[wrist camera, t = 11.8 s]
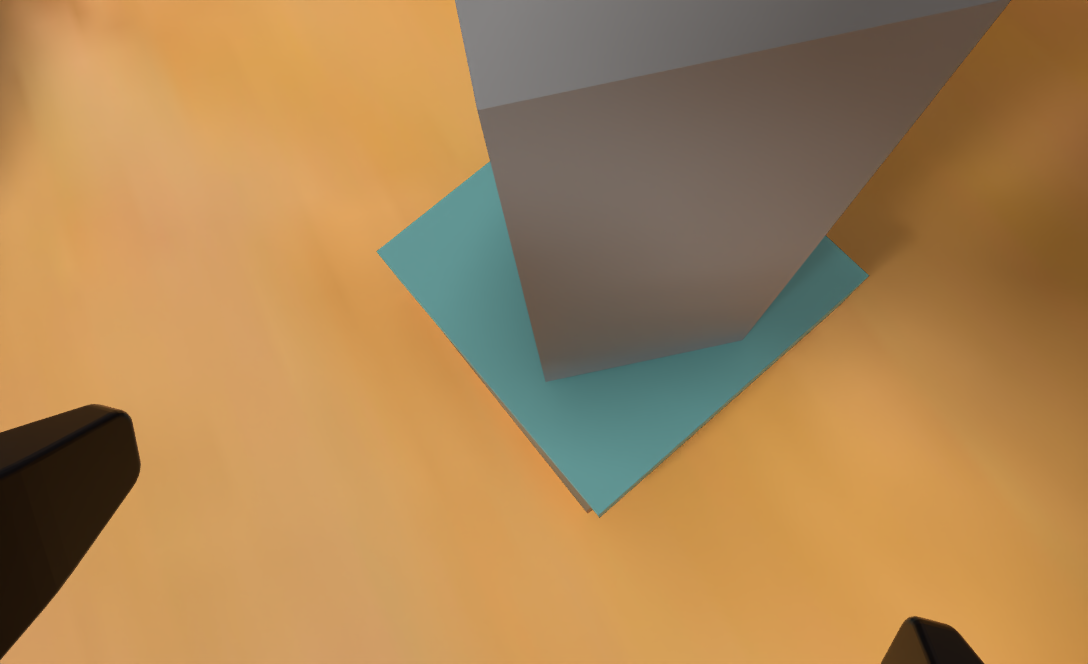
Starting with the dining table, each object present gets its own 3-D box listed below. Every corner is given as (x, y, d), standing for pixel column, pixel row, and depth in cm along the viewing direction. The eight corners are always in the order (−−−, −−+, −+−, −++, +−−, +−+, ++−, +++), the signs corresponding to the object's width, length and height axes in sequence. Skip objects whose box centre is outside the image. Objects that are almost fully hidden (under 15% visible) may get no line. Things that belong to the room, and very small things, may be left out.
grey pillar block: (545, 381, 18) (476, 110, 7) (508, 202, 20) (398, -280, 8) (742, 340, 18) (1013, -3, 7) (691, 164, 20) (842, -372, 8)
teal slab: (599, 517, 20) (598, 514, 17) (400, 281, 22) (376, 251, 20) (840, 304, 21) (868, 275, 18) (625, 100, 23) (627, 51, 21)
